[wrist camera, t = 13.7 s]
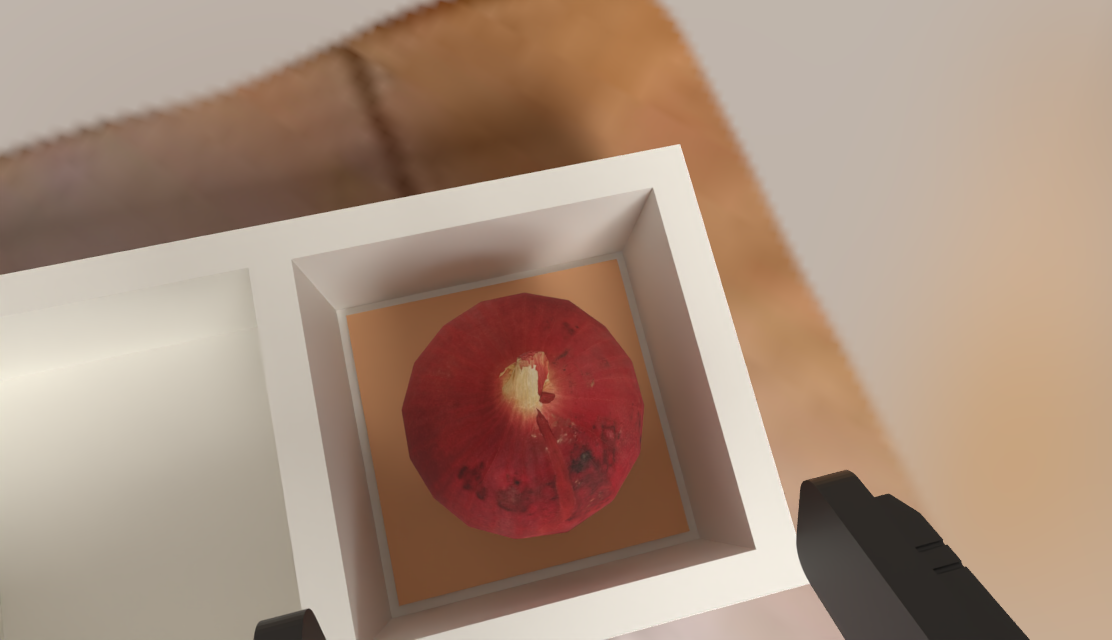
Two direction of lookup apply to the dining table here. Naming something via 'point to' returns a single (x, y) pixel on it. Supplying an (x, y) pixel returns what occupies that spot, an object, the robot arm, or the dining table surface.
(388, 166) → the dining table surface
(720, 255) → the dining table surface
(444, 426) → the onion
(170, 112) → the dining table surface
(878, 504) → the robot arm
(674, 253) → the compartment tray
